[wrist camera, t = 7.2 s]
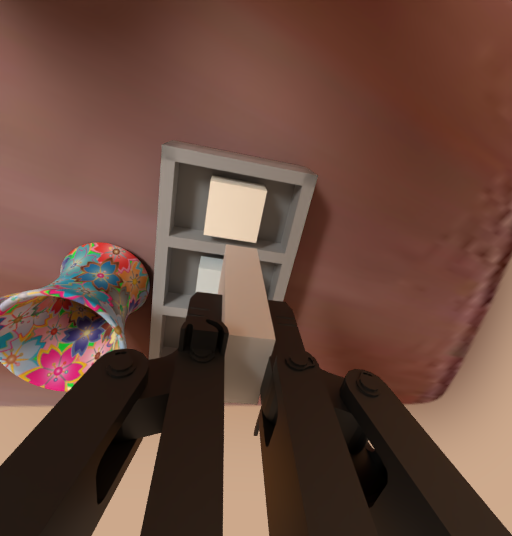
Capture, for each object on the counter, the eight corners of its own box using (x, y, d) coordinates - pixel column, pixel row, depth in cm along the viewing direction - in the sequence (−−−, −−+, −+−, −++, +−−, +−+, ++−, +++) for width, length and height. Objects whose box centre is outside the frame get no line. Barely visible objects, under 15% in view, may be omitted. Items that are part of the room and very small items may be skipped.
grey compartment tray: (172, 139, 26) (162, 144, 22) (305, 166, 28) (318, 175, 24) (157, 340, 36) (147, 369, 32) (258, 350, 38) (261, 379, 34)
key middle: (201, 256, 28) (198, 268, 25) (249, 263, 28) (250, 275, 26) (195, 297, 29) (192, 311, 27) (240, 303, 30) (241, 317, 28)
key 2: (212, 174, 25) (210, 180, 23) (264, 184, 26) (267, 191, 24) (205, 225, 27) (203, 234, 25) (254, 233, 28) (256, 243, 26)
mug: (158, 243, 31) (126, 301, 21) (153, 319, 35) (124, 396, 25) (26, 222, 29) (-75, 276, 19) (36, 305, 33) (-43, 384, 23)
